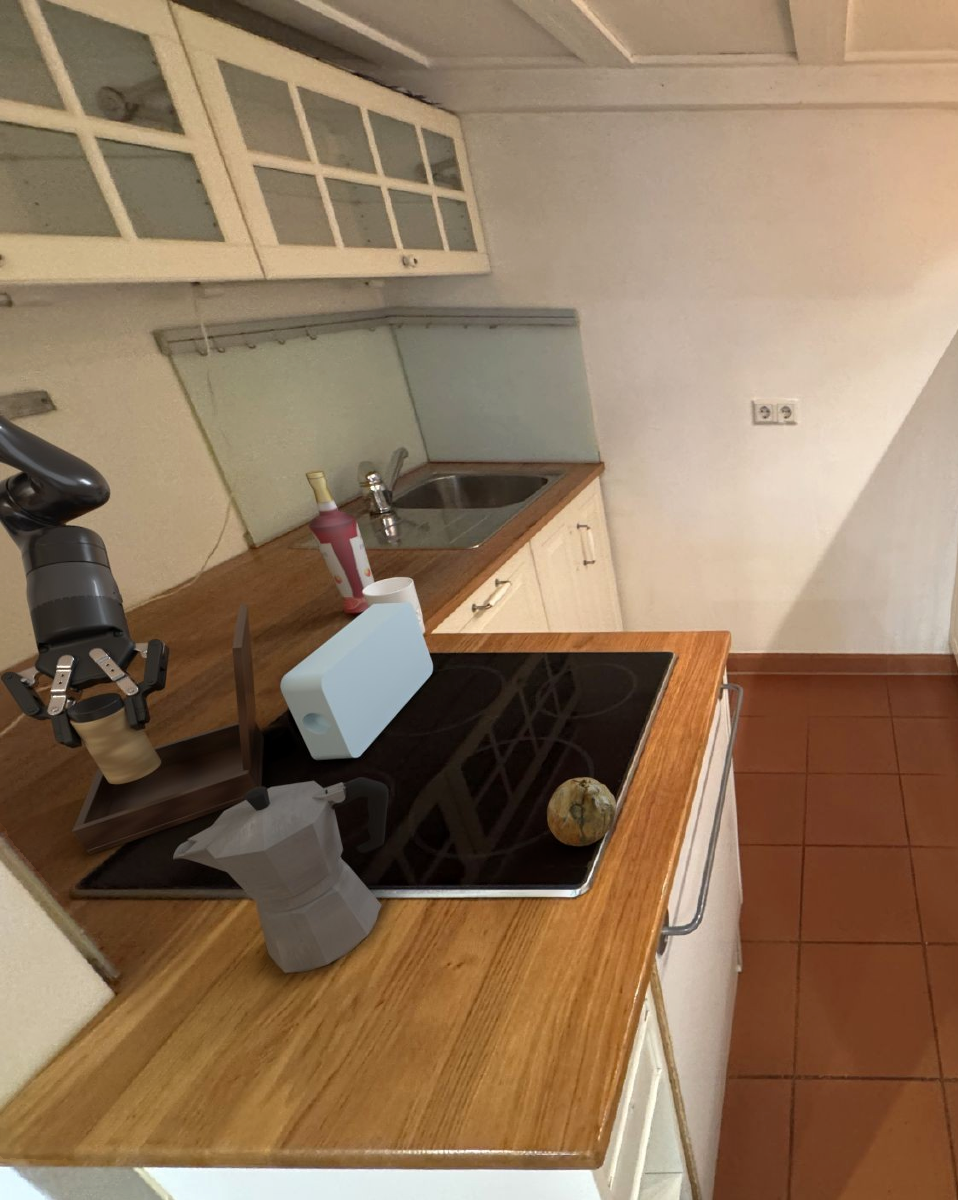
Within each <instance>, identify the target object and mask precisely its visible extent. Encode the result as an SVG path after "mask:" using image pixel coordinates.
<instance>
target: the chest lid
mask: <svg viewBox="0 0 958 1200" xmlns="http://www.w3.org/2000/svg"><path fill="white" fill-rule="evenodd" d="M235 624H236V625H235V630H234V635H233V642H232V646H231V648H232V661H233V673H234V674H233V675H234V684H235V695H236V696H235V697H236V706H237V707H236V708H237V718H238V722H239V731H240V742H241V754H242V765H243V770H248V769H251V768H252V757H253V745H254V734H255V722H256V723H257V720H256V719H257V708H256V705H257V704H256V696H255V695H256V693H255V682H254V669H253V655H252V643H251V629H250V617H249V605H248V604H239V607H238V612H237V619H236V623H235Z"/></svg>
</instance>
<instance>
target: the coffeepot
mask: <svg viewBox="0 0 958 1200" xmlns="http://www.w3.org/2000/svg"><path fill="white" fill-rule="evenodd" d="M243 797H244V798H245V799H246V800H245V801H243V802H241V803H239V804H236V805H234V806H231V807H228V808H226V809H224V810H223V812H222V813H221V814H220V815H219V817H218V818H217V819H216V820H215V821H214V822H213V824H211V826H209V827H207V828H206V829H204V830H202V831H200V832H198V833H196V834H195V835H193V836H191V837H188V838H187V840H186V841H185V842H182V843H181V844H179V845H178V846H177V848H176V849H175V851H174V853H173V857H172V859H173V860H178V859H182V860H183V859H184V860H188V861H190V862H191V861H192V862H195V863H199V864H201V865H205V866H208V867H210V868H214V869H216V870H219V871H222V872H226V873H227V874H228V875H229V876H230V877H231V878H232V879H233V880H234V881H235V882H236V883H237V884H238V886H240V887H241V889H243V890H244V892H245V893H246V894H247V895H248V896H249V897H250V898H251V899H252V900H253V901H254V902H255V903H256V911H257V914H258V919H259V922H260V926H261V929H262V933H263V938H264V942H265V947H266V949H267V954H268V955H269V957H270V958H271V960H273V962H274V963H275V964H276V965H277V966H278V967H279V968H280V969H281V970H282V971H283V973H284V974H289V973H302V972H308V971H312V970H316V969H319V968H322V967H325V966H328V965H330V964H331V963H333V962H335V961H338V959H339V960H340V959H341V958H343V957H344V956H345V955H347V954H348V953H350V952H352V950H354V949H355V948H356V947H357V946H358V945H360V944H361V943H362V942H363V940H365V939H366V938H367V937H368V936H369V934H370V933H371V931H372V929H373V928H374V926H375V924H376V923H377V920H378V917H379V913H380V909H381V907H382V903H381V902H380V901H379V899H377V898H376V896H375V895H374V894H373V893H372V892H371V891H370V889H369V888H368V887H367V885H366V884H365V883H364V882H363V881H362V880H361V879H360V877H359V876H358V875H357V873H355V871H354V870H353V869H352V868H351V866H349V864H348V863H346V861H344V859H342V854H343V852H344V848H343V843H342V838H341V833H340V830H339V825H338V819H337V815H336V812H335V811H336V810H335V809H337V808H339V807H342V806H343V805H346V804H348V803H350V802H351V801H353V800H355V799H357V798H360V797H365V798H368V799H367V803H366V807H367V812H368V816H369V818H368V821H367V825H366V827H367V831H368V834H369V836H370V838H369V839H368V840H367V841H366V842H364V843H362V844H360V845H357V846H356V850H357V851H358V852H359V853H361V854H365V853H368V852H370V851H373V850H376V849H377V848H379V847H381V846H383V845H384V843H385V840H386V839H385V838H386V824H387V814H388V803H389V797H390V796H389V788H388V786H387V785H386V784H384V783H383V782H380V781H377V780H374V779H371V778H367V777H363V776H361V777H356V778H354V779H352V780H348V781H347V782H338V783H336V784H333V785H329V786H326V787H322V785H320V784H318V783H317V781H315V780H310V781H304V782H295V783H290V784H282V785H276V786H270V787H268V788H267V787H266V786H265V785H264V786H263V785H261V787H256V788H254V789H252V790H250V791H248V792H247V793H246V794H245V795H244V796H243Z"/></svg>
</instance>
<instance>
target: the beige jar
mask: <svg viewBox="0 0 958 1200" xmlns="http://www.w3.org/2000/svg"><path fill="white" fill-rule="evenodd" d="M123 699H124V698H123V697H122V695H121V694H120V693H118V692H106V693H101V694H96V695H93V696H89V697H86V698H84V699H82V700H79V701H78V702H77V703H76V704H74V705H72V706H71V707H70V708H69V709H68V710H67V713H68V715H69V716H70V718H71V719H70V723H71V724H72V726H73V727H74V729H75V730H76V732H77V734H78V735H79V737H80V738H81V741H82V744H83V745H84V746H85V748H86V750H87V751H88V752H89V754H90V756H91V757H92V760H94V762H95V764H96V765H97V767H98V768H100V770H101V771H102V773H103V774H104V776H105V778H106V779H107V781H108V782H109V783H111V784H123V783H128V782H131V781H134V780H137V779H140V778H142V777H144V776H146V775H148V774H150V773H151V772H153V771H154V770H156V769H157V768H158V767H159V766H160V764H161V760H160V758H159V756H158V754H157V753H156V751H155V749H154V748H153V747H154V746H153V744H152V742H151V741H150V739H149V737H148V735H147V734H146V732H145V731H144V730H145V729H142V730H138V731H136V730H134V729H132V728H131V727H130V725H129V721H128V717H127V712H126V708H125V704H124V700H123Z"/></svg>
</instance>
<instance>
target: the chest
mask: <svg viewBox="0 0 958 1200" xmlns="http://www.w3.org/2000/svg"><path fill="white" fill-rule="evenodd" d="M153 748H154V749H155V751H156V753H157V754H158V756H159V758H160V760H161V764H160V766H159V767H158V768H157V769H156V770H154V771H153V772H151V773H150V774H148V775H146V776H144V777H142V778H140V779H137V780H134V781H131V782H128V783H123V784H111V783H109V782H108V781H107V779H106V778H105V776H104V774H103V773H102V771H101V770H100V768H99V767H98V768H97V770H96V773H95V776H94V777H93V779H92V782H91V785H90V788H89V790H88V792H87V795H86V797H85V800H84V802H83V805H82V806H81V809H80V812H79V814H78V817H77V819H76V822H75V824H74V826H73V828H72V831H71V832H72V833H73V835H74V837H75V838H76V839H77V840H78V842H79V843H80V844H81V846H82V847H83V849H84V850H85V851H86V853H87V854H88V855H89V856H94V855H96V854H98V853H102V852H105V851H108V850H111V849H113V848H116V847H118V846H119V847H120V846H122V845H125V844H128V843H130V842H134V841H137V840H139V839H142V838H144V837H147V836H151V835H153V834H156V833H160V832H162V831H165V830H168V829H170V828H173V827H176V826H180V825H182V824H185V823H187V822H191V821H193V820H197V819H199V818H202V817H205V816H207V815H210V814H214V813H216V812H220V811H222V810H226V809H229V808H231V807H233V806H235V805H237V804H239V803H241V802H243V801H245V800H246V799H245V798H244V797H243V796H244V795H245V794H246V793H247V792H248V791H250V790H252V789H254V788H256V787H262V786H263V785H262V784H263V769H264V754H265V753H264V752H265V751H264V750H265V737H264V735H263V733H262V730H261V729H260V727H259V724H258V723H257V721H256V722H255V734H254V745H253V757H252V768H251V769H248V770H243V765H242V754H241V742H240V731H239V721H236V722H234V723H231V724H227V725H224V726H221V727H217V728H213V729H209V730H206V731H202V732H200V733H196V734H193V735H190V736H186V737H183V738H180V739H176V740H173V741H170V742H165V743H163V744H160V745H157V746H153Z"/></svg>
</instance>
